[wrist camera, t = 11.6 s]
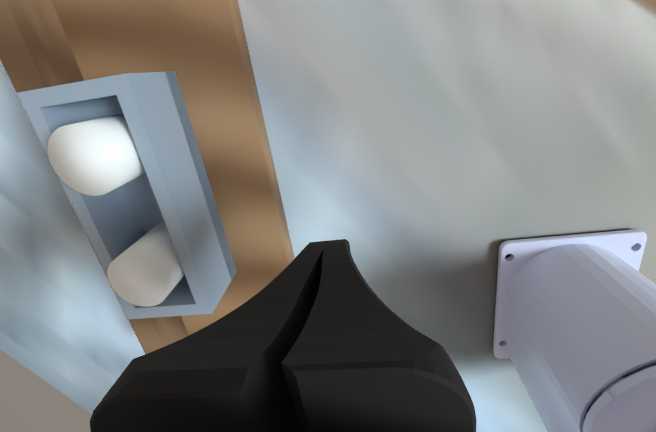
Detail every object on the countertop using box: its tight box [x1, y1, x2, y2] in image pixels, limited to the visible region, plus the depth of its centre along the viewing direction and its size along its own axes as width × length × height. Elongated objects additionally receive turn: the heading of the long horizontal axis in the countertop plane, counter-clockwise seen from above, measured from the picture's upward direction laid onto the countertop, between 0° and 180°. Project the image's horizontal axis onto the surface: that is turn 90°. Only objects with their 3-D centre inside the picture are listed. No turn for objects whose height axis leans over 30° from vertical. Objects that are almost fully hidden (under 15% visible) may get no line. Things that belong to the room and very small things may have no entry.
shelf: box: [0, 0, 294, 354], centre depth 19 cm, size 22×10×4 cm, turn 9°
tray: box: [17, 71, 237, 319], centre depth 17 cm, size 12×5×5 cm, turn 9°
